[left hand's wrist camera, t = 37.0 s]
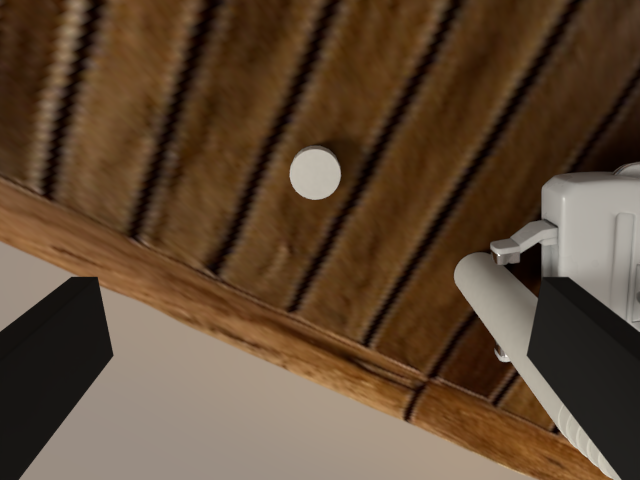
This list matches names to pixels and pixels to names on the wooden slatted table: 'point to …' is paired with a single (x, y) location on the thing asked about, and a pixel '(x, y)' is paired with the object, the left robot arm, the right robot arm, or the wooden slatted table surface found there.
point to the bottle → (519, 338)
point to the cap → (315, 172)
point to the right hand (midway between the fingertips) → (495, 304)
